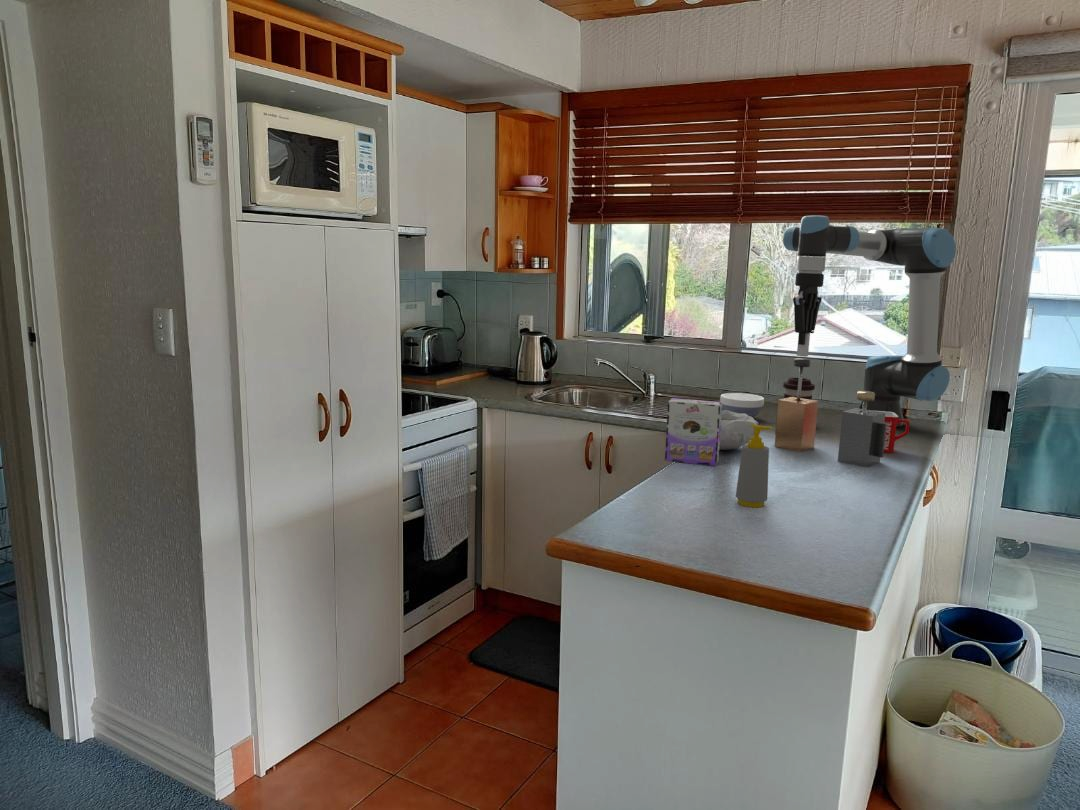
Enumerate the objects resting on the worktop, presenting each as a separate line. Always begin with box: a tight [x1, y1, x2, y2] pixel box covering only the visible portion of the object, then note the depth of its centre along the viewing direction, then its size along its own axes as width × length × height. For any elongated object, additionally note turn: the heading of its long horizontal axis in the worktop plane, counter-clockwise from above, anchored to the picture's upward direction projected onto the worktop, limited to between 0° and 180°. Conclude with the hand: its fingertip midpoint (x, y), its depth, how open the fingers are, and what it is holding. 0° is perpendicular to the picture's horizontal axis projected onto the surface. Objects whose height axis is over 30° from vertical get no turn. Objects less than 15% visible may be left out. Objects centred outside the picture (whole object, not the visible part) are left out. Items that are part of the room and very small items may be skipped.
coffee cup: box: [782, 377, 816, 400], centre depth 267 cm, size 10×10×15 cm
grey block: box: [837, 407, 887, 468], centre depth 217 cm, size 8×10×14 cm
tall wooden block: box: [774, 397, 819, 452], centre depth 234 cm, size 8×10×14 cm
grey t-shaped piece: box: [793, 357, 811, 401], centre depth 231 cm, size 6×6×17 cm
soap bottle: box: [735, 424, 774, 508], centre depth 178 cm, size 7×7×18 cm
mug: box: [878, 411, 911, 454], centre depth 233 cm, size 12×8×11 cm
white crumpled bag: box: [719, 409, 760, 451], centre depth 229 cm, size 21×20×10 cm
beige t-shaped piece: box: [856, 390, 875, 413], centre depth 217 cm, size 6×6×17 cm
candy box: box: [664, 397, 723, 467], centre depth 213 cm, size 14×6×16 cm, turn 71°
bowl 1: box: [719, 392, 765, 420], centre depth 273 cm, size 14×14×8 cm
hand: (802, 355), depth 229 cm, fingers closed
